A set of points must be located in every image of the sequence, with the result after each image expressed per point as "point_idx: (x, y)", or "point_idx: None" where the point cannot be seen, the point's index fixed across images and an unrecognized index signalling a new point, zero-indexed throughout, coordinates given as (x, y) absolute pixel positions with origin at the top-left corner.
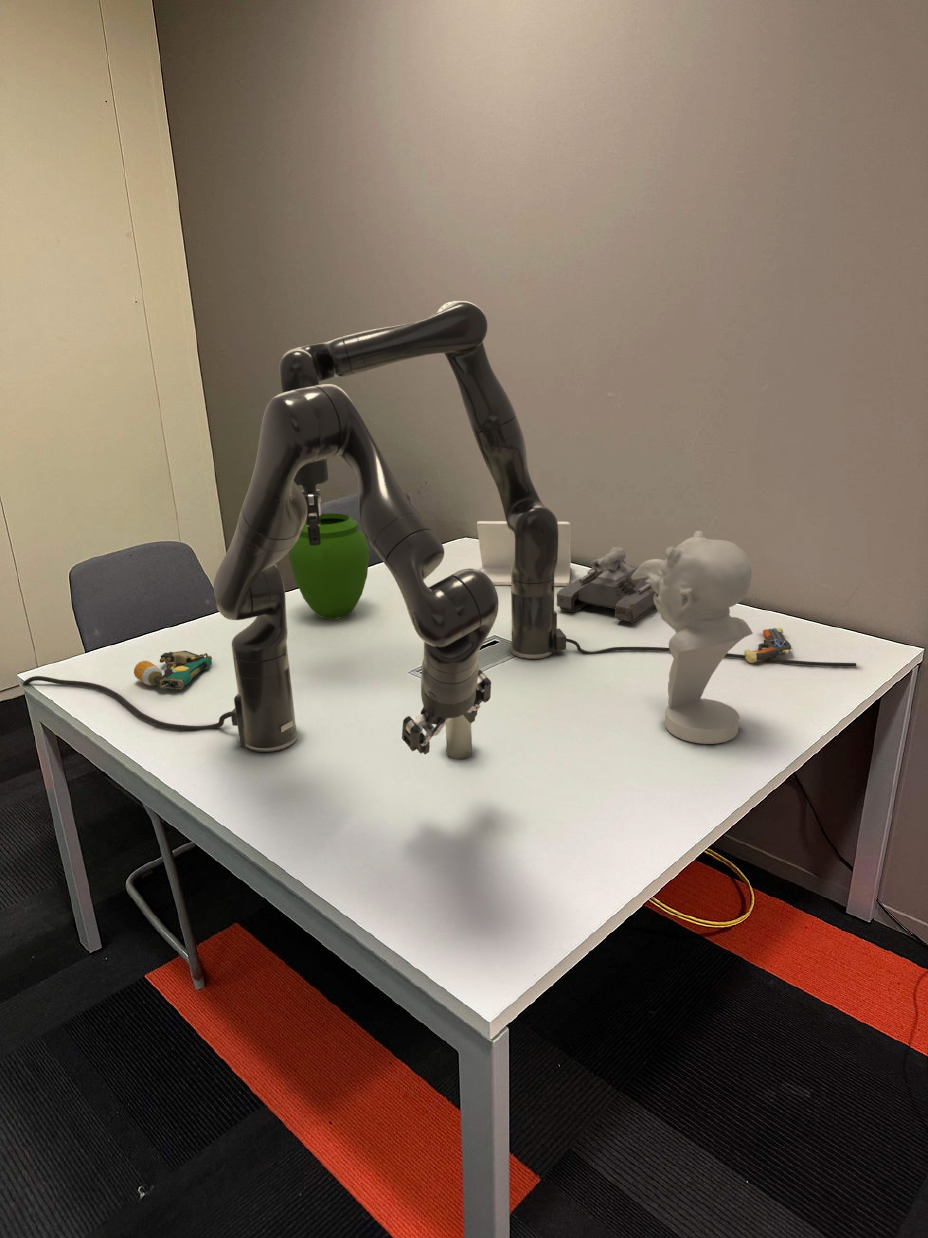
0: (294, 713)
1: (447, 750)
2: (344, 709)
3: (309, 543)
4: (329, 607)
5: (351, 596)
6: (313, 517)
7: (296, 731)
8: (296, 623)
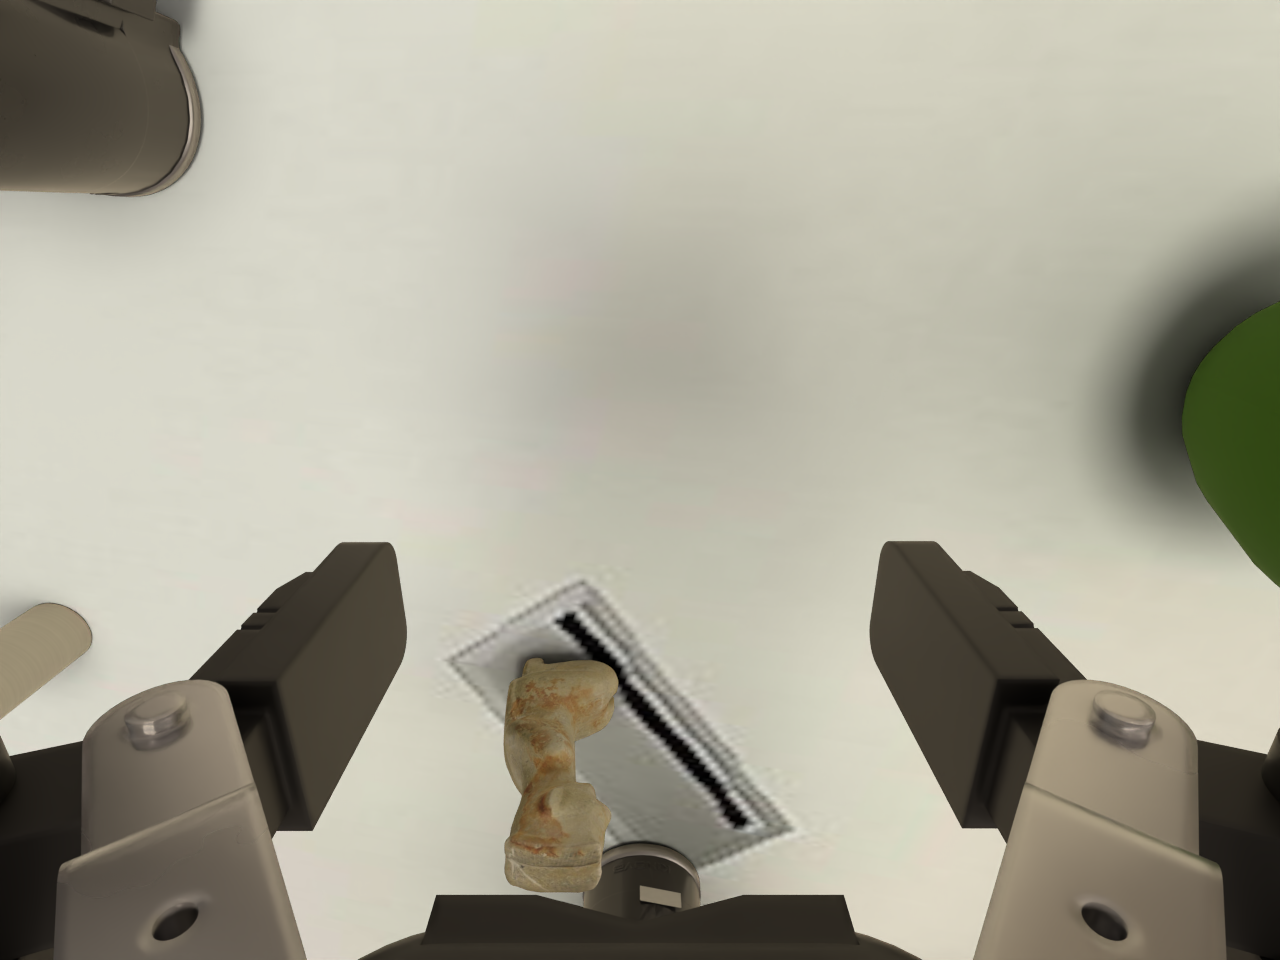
0: (64, 192)
1: (29, 611)
2: (335, 365)
3: (336, 546)
4: (1203, 382)
5: (1207, 495)
6: (964, 763)
7: (129, 194)
8: (1241, 213)
